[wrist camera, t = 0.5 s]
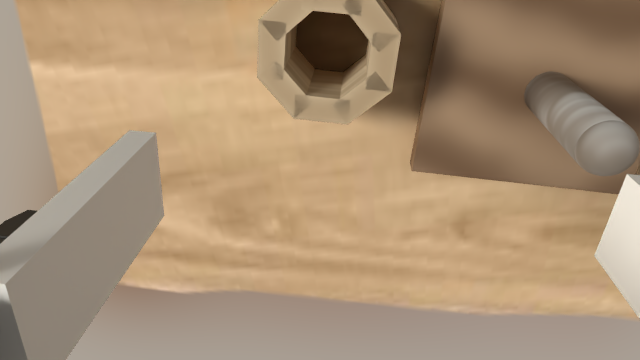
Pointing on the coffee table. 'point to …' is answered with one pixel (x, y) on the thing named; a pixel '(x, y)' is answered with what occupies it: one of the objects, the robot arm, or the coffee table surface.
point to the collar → (321, 85)
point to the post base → (499, 74)
